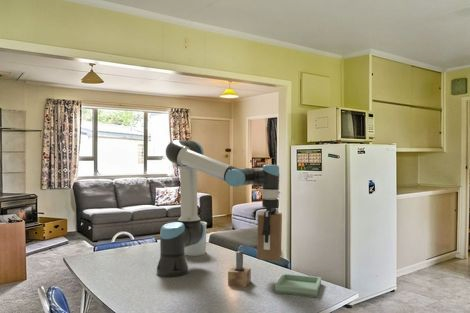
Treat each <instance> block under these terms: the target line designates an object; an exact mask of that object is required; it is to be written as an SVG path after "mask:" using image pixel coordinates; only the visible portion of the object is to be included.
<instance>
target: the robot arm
mask: <svg viewBox="0 0 470 313" xmlns="http://www.w3.org/2000/svg"><path fill="white" fill-rule="evenodd" d="M204 154H205V152H204V148H203V147H202V145H201V144H200V143H199V142H198V141H195V140H194V141H193V140H183V139H176V140H175V139H174V140H172V141H171V142H169V143H168V144H167V146H166V148H165V155H166V158H167V159H168V161H170V162H171V163H173V164H176V167H177V168H178V169H179V176H180V177H179V180H180V185H179V186H180V187H179V188H180V217H179V218H178V219H177V221H173V222H168V223H165V224H163V225H162V226H161V228H160V234H159V238H160V239H159V242H160V243H159V244H160V245H159V246H160V247H159V248H160V249H159V251H160V252H159V254H160V257H159V261H158V264H157V267H156V275H158V276H161V277H168V278H169V277H171V278H173V277H181V276H184V275H186V274H188V273H189V266H188V263H187V260H186V255H185V254H184V248H185V247H187V246H190V245H194V244H197V243H198V242H200V241H201V240H202V239H203V237H204V234H205V228H204V225H202V223H201V221H202V220H201V218H200V216H199V215H198V171H199V172H201V173H204V174H206V175H209V176H210V177H211V176H212V177H214V178H216V179H218V180H221V181H224V182H226V184H227V185H228V186H229V187H230V186H231V187H237V188H238V187H241V186H252V185H258V186H262V190H261V191H262V194H261V195H262V196H261V197H262V199H261V200H262V202H261V203H262V204H261V205H262V207H263V208H266V210H265V211H263V212H264V224H263V233H262V235H264V249H265V250H270V225H269V224H270V215H274V214H275V213H277V208H279V206H280V204H279V202H280V200H279V199H278V198H280V194H281V192H280V191H279V190H280V167H279V165H278V164H263V165H262V168H253V167H242V168H239V167H235V166H233V165H230V164H228V163H225V162H223V161H220V160H217V159H214V158H212V157H209V156H207V155H204ZM266 231H267V232H266Z"/></svg>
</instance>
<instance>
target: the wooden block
mask: <svg viewBox="0 0 470 313" xmlns="http://www.w3.org/2000/svg"><path fill="white" fill-rule="evenodd" d="M264 212H265V211H260V213H258V215H257V236H256V237H257V240H256V241H257V242H256V243H257V246H256V249H257V250H256V259H257V260H261V261H276V262H278V261H279V262H280V259H281V257H282V233H283V232H282V228H283V227H282V224H283V213H282V212H276V213H275V214H274V215H270V224H269V225H270V250H265V249H264V235H262V233H263V224H264ZM266 232H267V231H266Z"/></svg>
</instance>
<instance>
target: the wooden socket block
mask: <svg viewBox="0 0 470 313" xmlns="http://www.w3.org/2000/svg"><path fill="white" fill-rule="evenodd" d="M251 271H252V269H251V267H244V266H243V271H236V266H233V267H231V268H230V269H229V270H228V272H227V285H228V286H233V287H241V288H242V287H243V288H246V287H247V286H248V285H249V284H250V282H251V281H252V280H251V278H252V277H251V276H252V274H251Z"/></svg>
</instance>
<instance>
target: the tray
mask: <svg viewBox="0 0 470 313" xmlns="http://www.w3.org/2000/svg"><path fill="white" fill-rule="evenodd" d="M321 285H322V277H321V276H312V275H303V274H302V275H301V274H290V273H282V274H281V276H280V277H279V279H278V281H277V282H276V283H275V285H274V293H275V294H285V295H291V296H292V295H294V296H300V297H311V298H317V297H318V295H319V291H320V288H321Z"/></svg>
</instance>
